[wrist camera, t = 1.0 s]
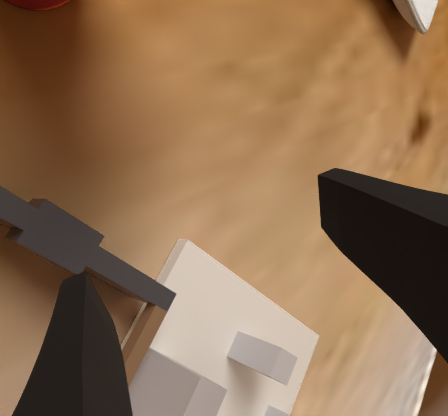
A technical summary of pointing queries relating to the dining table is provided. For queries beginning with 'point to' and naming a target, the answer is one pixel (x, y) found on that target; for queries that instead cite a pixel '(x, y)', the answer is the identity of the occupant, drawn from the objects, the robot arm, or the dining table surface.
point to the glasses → (86, 263)
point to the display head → (219, 346)
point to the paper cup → (38, 4)
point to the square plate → (417, 12)
